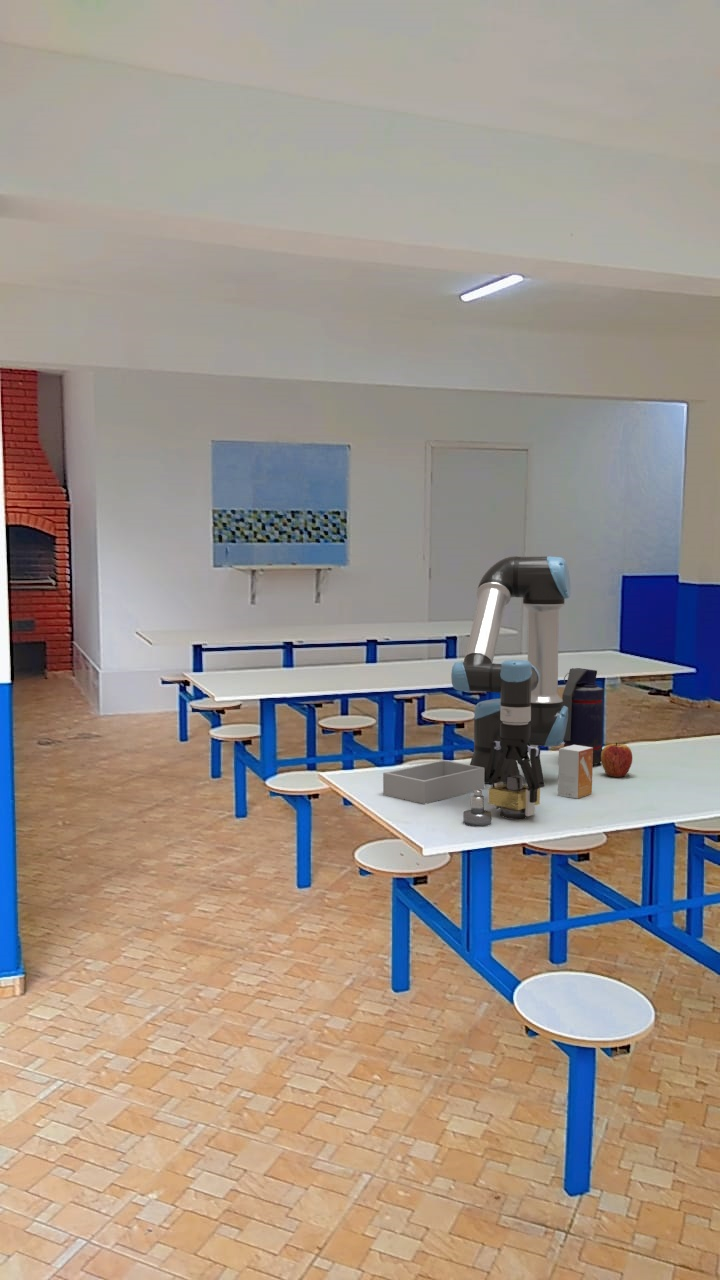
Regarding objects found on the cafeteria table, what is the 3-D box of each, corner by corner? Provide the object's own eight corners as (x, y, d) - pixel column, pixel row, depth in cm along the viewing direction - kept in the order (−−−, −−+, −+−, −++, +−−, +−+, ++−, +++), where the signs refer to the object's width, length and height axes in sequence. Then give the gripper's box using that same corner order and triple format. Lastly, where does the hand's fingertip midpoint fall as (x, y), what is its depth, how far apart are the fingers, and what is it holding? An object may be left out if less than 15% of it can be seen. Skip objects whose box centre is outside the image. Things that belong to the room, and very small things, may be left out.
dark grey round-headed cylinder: (494, 815, 252) (495, 776, 251) (511, 810, 257) (511, 772, 256) (516, 820, 247) (517, 780, 246) (533, 815, 252) (533, 776, 251)
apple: (602, 778, 294) (603, 745, 293) (598, 772, 303) (599, 739, 302) (634, 779, 293) (635, 745, 292) (629, 773, 302) (630, 740, 301)
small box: (578, 799, 269) (579, 751, 268) (557, 795, 273) (558, 748, 272) (592, 794, 275) (593, 746, 274) (572, 790, 279) (572, 744, 278)
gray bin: (383, 794, 274) (383, 772, 274) (443, 780, 292) (443, 759, 291) (424, 804, 263) (424, 781, 263) (484, 788, 281) (484, 767, 280)
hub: (457, 822, 245) (457, 790, 244) (475, 817, 250) (475, 786, 249) (479, 828, 240) (479, 795, 240) (497, 822, 245) (497, 790, 244)
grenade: (582, 758, 324) (584, 665, 321) (610, 765, 314) (612, 669, 311) (550, 763, 316) (552, 668, 314) (578, 769, 306) (580, 672, 304)
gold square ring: (488, 803, 252) (488, 787, 251) (510, 797, 258) (510, 782, 258) (517, 810, 245) (518, 794, 245) (539, 803, 252) (539, 788, 251)
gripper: (471, 719, 255) (470, 806, 257) (542, 729, 240) (541, 822, 241) (490, 715, 260) (489, 801, 262) (560, 726, 245) (559, 816, 247)
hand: (514, 811), depth 252 cm, fingers closed on gold square ring, 9 cm apart
